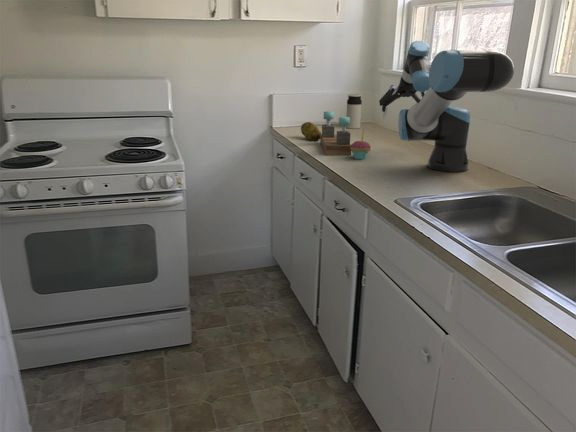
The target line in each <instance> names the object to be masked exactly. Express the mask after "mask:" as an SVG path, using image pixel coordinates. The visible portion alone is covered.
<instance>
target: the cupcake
mask: <svg viewBox="0 0 576 432" xmlns="http://www.w3.org/2000/svg"><path fill="white" fill-rule="evenodd" d="M364 136H365V129H364V128H363V130H362V133H361V140H357V141H354V142H353V143H350V144H351V147H350V149H351V153H352V154H353V158H354V159H355V160H365V159H366V158H367V154H368V153H369V152H370V151H371V144H370V143H369V142H367V141H364Z"/></svg>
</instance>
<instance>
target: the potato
mask: <svg viewBox="0 0 576 432" xmlns="http://www.w3.org/2000/svg"><path fill="white" fill-rule="evenodd" d="M300 132H301V134H302V135H303V136H304V137H305V139H306V140H308V141H312V142H313V141H315V142H318V141H319V140H320V134H322V131H321V130H320V128H318V126H317V125H315V124H314V123H313V122H310V121H306V122H304V123H302V124H301V127H300Z"/></svg>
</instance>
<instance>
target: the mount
mask: <svg viewBox="0 0 576 432" xmlns="http://www.w3.org/2000/svg"><path fill="white" fill-rule="evenodd" d="M319 143H320V146H321V147H322V150H323V152H324V155H325V156H352V151H351V149H350V147H351V144H352V143H351V132H350V131H349V130H346V133H342V130H337V131H336V133H335V125H334V124H330V126H326V124H321V134H320V141H319Z"/></svg>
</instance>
